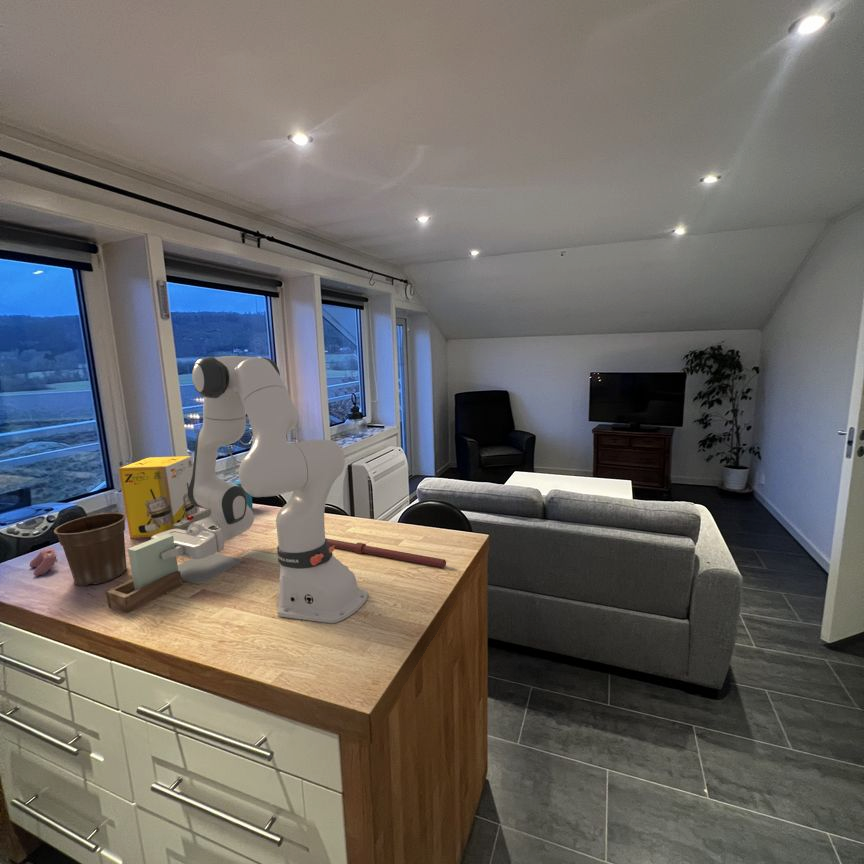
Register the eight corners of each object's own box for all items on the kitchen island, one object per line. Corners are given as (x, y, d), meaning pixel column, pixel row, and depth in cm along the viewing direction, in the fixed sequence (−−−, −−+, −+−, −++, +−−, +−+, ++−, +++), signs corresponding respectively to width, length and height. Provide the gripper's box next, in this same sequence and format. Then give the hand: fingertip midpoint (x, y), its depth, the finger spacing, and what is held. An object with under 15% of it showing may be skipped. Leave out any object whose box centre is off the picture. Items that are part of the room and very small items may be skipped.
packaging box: (176, 536, 155) (166, 466, 151) (130, 538, 155) (118, 468, 151) (200, 519, 171) (192, 455, 167) (158, 521, 171) (149, 457, 167)
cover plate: (179, 577, 123) (173, 535, 120) (142, 595, 114) (134, 550, 112) (172, 574, 124) (165, 533, 122) (135, 592, 115) (127, 548, 113)
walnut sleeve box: (182, 585, 121) (180, 571, 120) (127, 613, 108) (124, 597, 108) (163, 579, 124) (161, 566, 124) (108, 606, 112) (105, 591, 111)
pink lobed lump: (52, 577, 132) (62, 554, 133) (32, 576, 128) (42, 552, 130) (46, 568, 138) (56, 545, 140) (27, 566, 135) (37, 543, 136)
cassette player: (182, 553, 142) (178, 522, 140) (176, 552, 143) (171, 522, 141) (220, 533, 156) (217, 506, 155) (214, 533, 157) (211, 505, 155)
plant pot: (50, 585, 124) (39, 530, 121) (109, 560, 139) (100, 510, 136) (90, 594, 118) (79, 536, 115) (147, 566, 133) (139, 514, 130)
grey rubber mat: (244, 561, 134) (244, 559, 134) (198, 584, 121) (198, 583, 121) (207, 552, 141) (207, 551, 141) (161, 573, 128) (161, 572, 128)
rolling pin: (313, 546, 143) (313, 537, 142) (320, 543, 146) (319, 533, 145) (442, 571, 123) (442, 560, 123) (447, 566, 126) (446, 556, 126)
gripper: (177, 520, 134) (130, 538, 122) (225, 529, 125) (178, 549, 113) (180, 540, 135) (133, 559, 123) (228, 551, 126) (182, 573, 114)
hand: (155, 555), depth 118 cm, fingers closed on cover plate, 3 cm apart
